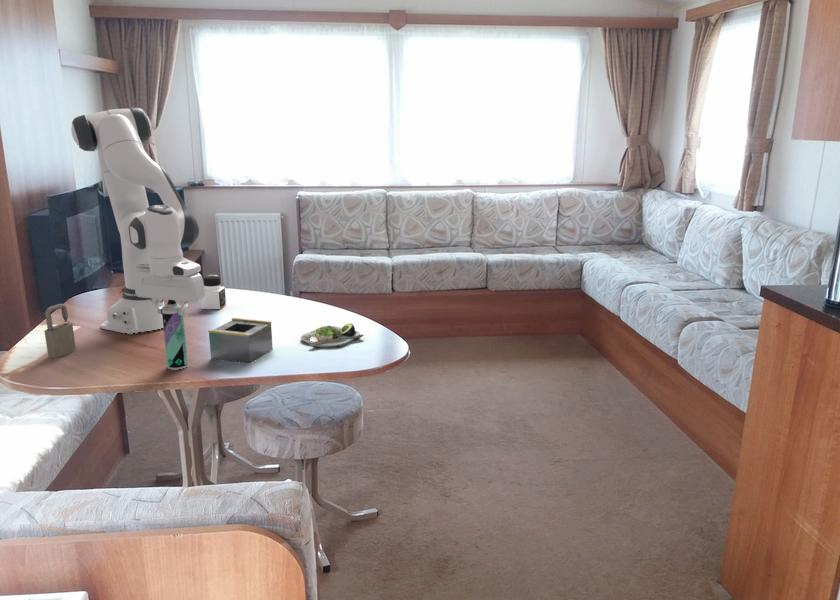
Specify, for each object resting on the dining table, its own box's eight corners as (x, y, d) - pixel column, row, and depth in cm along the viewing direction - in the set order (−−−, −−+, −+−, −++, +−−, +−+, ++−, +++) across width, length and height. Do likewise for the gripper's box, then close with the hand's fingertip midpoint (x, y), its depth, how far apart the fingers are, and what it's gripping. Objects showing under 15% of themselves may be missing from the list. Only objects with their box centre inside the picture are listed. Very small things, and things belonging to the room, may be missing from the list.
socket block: (210, 359, 195) (208, 330, 193) (235, 345, 208) (233, 317, 205) (250, 364, 192) (248, 334, 189) (273, 349, 204) (271, 321, 202)
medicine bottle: (220, 310, 245) (218, 278, 242) (201, 309, 245) (198, 278, 242) (226, 304, 252) (223, 273, 249) (207, 304, 252) (204, 273, 249)
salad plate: (330, 355, 200) (330, 341, 198) (287, 344, 209) (286, 330, 208) (369, 338, 215) (369, 324, 214) (327, 329, 225) (327, 316, 223)
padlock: (78, 349, 203) (71, 302, 199) (57, 358, 196) (49, 309, 192) (67, 348, 204) (60, 301, 200) (46, 357, 197) (38, 308, 193)
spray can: (170, 363, 192) (163, 296, 187) (190, 363, 192) (183, 296, 187) (165, 370, 186) (158, 301, 181) (185, 370, 187) (178, 301, 182)
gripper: (126, 265, 181) (132, 314, 185) (191, 270, 176) (196, 320, 179) (142, 261, 187) (147, 308, 191) (205, 265, 181) (209, 314, 185)
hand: (171, 314), depth 185 cm, fingers closed on spray can, 5 cm apart
